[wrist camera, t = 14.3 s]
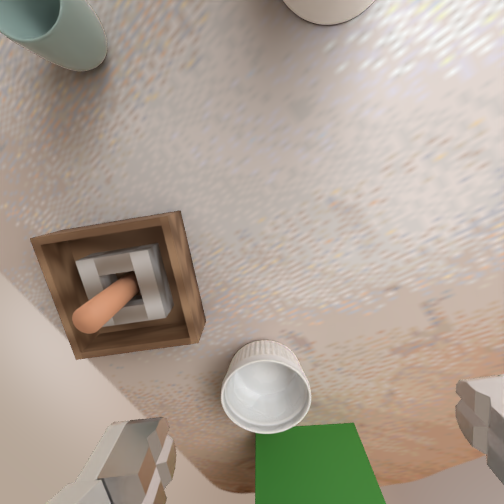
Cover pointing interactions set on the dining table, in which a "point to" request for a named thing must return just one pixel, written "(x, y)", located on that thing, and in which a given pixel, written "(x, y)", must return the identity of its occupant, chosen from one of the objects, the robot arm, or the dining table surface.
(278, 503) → the hardback book
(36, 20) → the cup
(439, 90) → the dining table surface
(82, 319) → the peg
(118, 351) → the box
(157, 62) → the dining table surface
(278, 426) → the ramekin
